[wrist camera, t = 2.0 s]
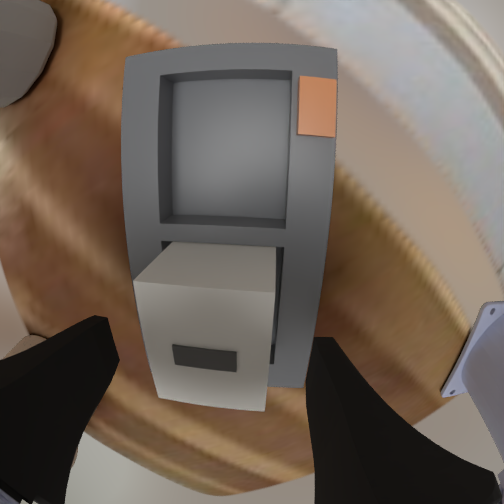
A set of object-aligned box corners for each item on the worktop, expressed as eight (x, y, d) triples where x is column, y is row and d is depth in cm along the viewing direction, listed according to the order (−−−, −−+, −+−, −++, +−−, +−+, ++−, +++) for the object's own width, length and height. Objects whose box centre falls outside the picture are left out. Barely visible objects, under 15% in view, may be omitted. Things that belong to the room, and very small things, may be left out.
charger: (276, 235, 12) (275, 294, 7) (269, 332, 14) (264, 413, 9) (183, 230, 12) (131, 282, 8) (190, 325, 14) (157, 399, 9)
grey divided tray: (325, 66, 10) (341, 41, 7) (300, 356, 15) (303, 399, 12) (150, 69, 11) (116, 52, 8) (165, 344, 16) (145, 381, 13)
